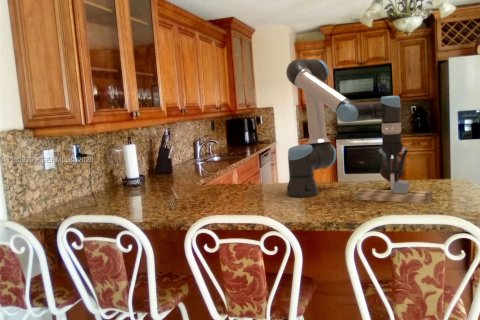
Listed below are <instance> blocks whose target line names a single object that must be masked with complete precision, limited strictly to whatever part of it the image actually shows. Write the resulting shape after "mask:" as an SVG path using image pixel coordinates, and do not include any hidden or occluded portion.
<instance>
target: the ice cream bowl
mask: <svg viewBox="0 0 480 320" xmlns="http://www.w3.org/2000/svg"><path fill="white" fill-rule="evenodd" d="M400 162H401V160H400V159H398V170H399V166H400ZM385 164H386V168H387V161H385ZM391 166H392V173H394V160H393V158H391ZM405 172H406V170H405V169H404V168H403V171H402V172H401V173H398V181H400V179H402V178H403V176H404V174H405ZM379 174H380V176H381V177H382V178H383V179H384V180H386V181H388V174H387V173H385V172H383V169H382V166H381V169H379ZM388 182H389V184H390V186H388V187H387V188H386V189H385V190H391V181H388ZM391 191H393V190H391Z"/></svg>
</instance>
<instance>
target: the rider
mask: <svg viewBox="0 0 480 320" xmlns="http://www.w3.org/2000/svg"><path fill="white" fill-rule="evenodd" d="M408 191H410V181H409V180H398V181H397V182H395V183H393V193H403V194H406V193H407V192H408Z"/></svg>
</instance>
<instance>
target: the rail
mask: <svg viewBox="0 0 480 320" xmlns="http://www.w3.org/2000/svg"><path fill="white" fill-rule="evenodd" d="M433 194H434V193H433V189H427V190H426V191H421V190H420V191H415V190H409V191H408V192H407V193H406V194H403V193H393V191H391V190H386V189H385V190H384V189H383V190H382V189H361V188H360V189H358V190H357V191H355V192H354V200H359V201H376V202H377V201H378V202H400V203H401V202H402V203H416V204H417V203H418V204H419V203H422V204H431V203H432V201H433V199H434V198H433Z"/></svg>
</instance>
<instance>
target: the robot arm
mask: <svg viewBox="0 0 480 320" xmlns="http://www.w3.org/2000/svg"><path fill="white" fill-rule="evenodd" d="M285 74H286V78H287V79H288V81H289V82H290V83H291V84H292V85H294V86H295V87H296V88H297V89H301V90H303V91H304V96H305V97H304V98H305V107H306V108H305V109H306V118H307V124H308V125H307V127H308V135H309V138H308V139H309V140H308V141H307V142H306V144H298V145H294V146H291V147H290V148H288V150H287V160H288V177H289V180H288V184H287V187H286V196H288V197H291V198H309V197H314V196H316V195H317V196H318V195H319V188H318V186H317V182H316V179H315V176H314V174H315V173H314V171H317V170H321V169H328V168H330V167H332V166H333V165H334V164H335V162H336V160H337V150H336V147H334V145H333V144H332V141H331V140H330V139H329V138H328V135H327V124H326V115H325V114H326V113H325V106H327V107H328V108H329V109H331V110H332V111H333V112H335V113H336V116H337V118H338V120H339V121H340V122H342V123H354V122H355V123H356V122H363V121H373V120H374V121H375V120H381V133H382V135H381V138H382V140H381V141H382V144H381V146H380V148H379V149H377V150H376V151H375V152H376V154H377V156H378V158H379V159H378V160H379V162H380V165H381V167H382V169H383V172H385V173H387V174H388V182H390V181H391V190H393V183H395V182H397V181H399V180H398V173H401V172H402V171H403V169H404V167H405V166H404V165H405V162H406V158H407V154H409V152H410V151H409V149H406V148H405V147H404V145H403V144H402V143H403V142H402V134H401V132H402V121H401V119H402V118H401V109H402V108H401V107H402V106H401V97H400V96H399V95H388V96H387V95H386V96H381V98H380V101H372V102H356V103H355V102H353V101H352V100H351V99H349V98H348V97H346V96H345V95H343V94H341V93H340V92H338V91H337V90H336V89H335V88H334V87H333V88H332V87H331V86H329V85H328V84H327V83H326V81H327V80H328V78H329V75H330V70H329V67H328V65H327V64H326V62H325V61H324V60H320V59H317V58H312V59H311V58H296V59H294V60H292V61H290V63H289V64H288V65H287V67H286V73H285ZM400 152H401V154H402V155H401V159H400V166H399V170H398V160H399V158H398V157H399V154H400ZM383 153H384V154H385V155H386V161H385V158H384V157H385V156H384V155H383ZM392 157H393V158H392ZM391 159H393V160H394V173H392V166H391ZM386 162H387V168H386V164H385V163H386Z"/></svg>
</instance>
